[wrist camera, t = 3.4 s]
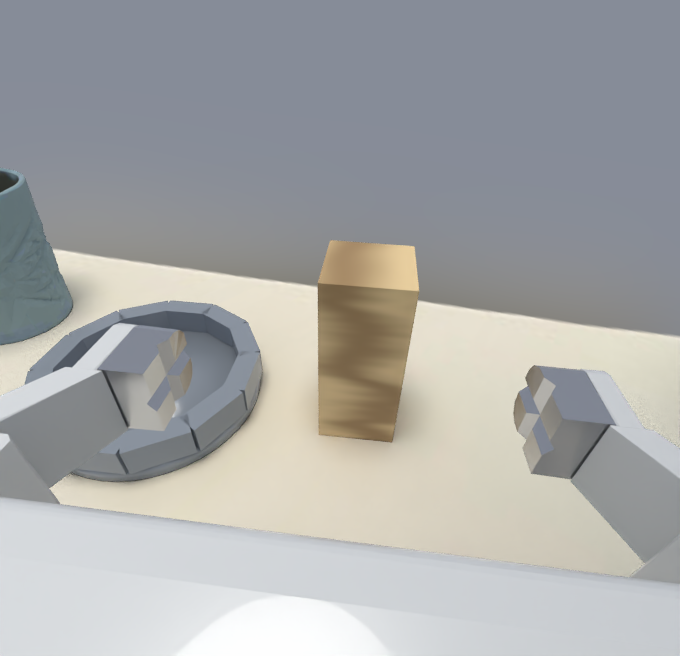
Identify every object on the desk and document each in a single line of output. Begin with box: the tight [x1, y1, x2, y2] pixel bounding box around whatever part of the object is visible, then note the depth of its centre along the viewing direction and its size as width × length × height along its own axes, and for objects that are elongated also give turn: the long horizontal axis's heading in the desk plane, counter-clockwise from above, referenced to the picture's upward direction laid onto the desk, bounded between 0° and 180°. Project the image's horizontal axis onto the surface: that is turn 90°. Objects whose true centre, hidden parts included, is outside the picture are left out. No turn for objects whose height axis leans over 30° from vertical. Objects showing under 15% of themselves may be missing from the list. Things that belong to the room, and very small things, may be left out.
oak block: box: [318, 240, 419, 442], centre depth 25 cm, size 5×5×12 cm
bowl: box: [25, 301, 262, 482], centre depth 29 cm, size 15×15×3 cm
